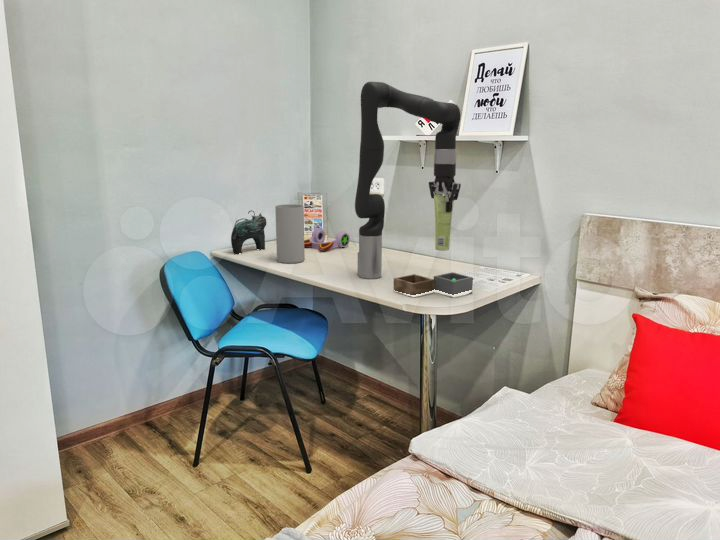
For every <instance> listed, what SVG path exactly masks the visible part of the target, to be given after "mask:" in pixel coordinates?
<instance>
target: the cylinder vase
mask: <svg viewBox="0 0 720 540" xmlns="http://www.w3.org/2000/svg"><path fill="white" fill-rule="evenodd" d="M304 210H305V209H304V205H303V204H290V203H289V204H278V205H275V234H276V235H275V238H276V243H275V244H276V260H277V262H279V263H281V264H289V263H290V264H298V263H303V262H304V261H305V257H306V256H305V247H304V240H305V220H304V219H305V214H304V213H305V211H304Z"/></svg>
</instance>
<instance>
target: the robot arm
mask: <svg viewBox="0 0 720 540" xmlns="http://www.w3.org/2000/svg"><path fill="white" fill-rule="evenodd" d="M381 108H392V109H394V108H395V109H399V110H400V111H401V110H402V111H403V112H405V113H407V114H409V115H411V116H415V117H419V118H421V119H426V120H428V121H430V122H432V123H435V124H438V125H439V124H440V125H441V128H440V131H438V132H436V134H435V141H434V155H433V157H434V158H433V176H434V177H435V178H434V181H429V182H428V187H429V193H430V198H431V199H433V200H434V195H440V196H446V201H447V202H446V212H447V213H449V212H451V211H452V202H453V201H454V202H455V201H457V200H458V199H459V193H460V190H461V183H457V182H456V181H455V176H456V174H457V173H456V170H457V169H456V168H457V151H456V146H457V145H456V144H457V142H456V141H457V135H458V131H459V126H460V124H461V123H460V122H461V114H462V113H461V109H460V107H459V106H458V105H457V104H456V103H453V102H444V101H436V100H434V99H433V98H430V97H427V96H423V95H419V94H414V93H409V92H405V91H404V90H403V91H402V90H400V89H398V88H396V87H394V86H392V85H390V84H387V83H386V82H381V81H367V82H365V83H364V85H363V86H362V88H361V91H360V118H361V119H360V120H361V121H360V122H361V123H360V124H361V125H360V145H359V168H358V177H357V186H356V194H355V198H354V199H355V200H354V211H355V215H356V216H357V218H359V219H368V221H366V223H364V224H363V225H361V226H360V227H359V230H358V252H357V276H358V277H359V278H362V279H368V280H369V279H371V280H373V279H379V277H380V278H381V277H382V265H383V264H382V261H383V260H382V259H383V254H382V253H383V230H384V227H385V212H386V206H385V199H384V198H383V196H382V194H378V193H373V194H371V193H370V192H371V187H372V183H373V181H374V180H375V177H376V175H377V174H378V173H379V171H380V169H381V167H382V165H383V162H384V156H385V155H384V154H385V153H384V152H385V143H384V138H383V135H382V132H381V130H380V127H379V121H378V113H379V112H378V110H379V109H381ZM454 195H455V196H454ZM449 196H450V198H449ZM452 212H453V211H452Z"/></svg>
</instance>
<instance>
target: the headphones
mask: <svg viewBox="0 0 720 540" xmlns="http://www.w3.org/2000/svg"><path fill="white" fill-rule="evenodd" d="M325 239H326V232H325V230H324V229H323V228H320V227H317V228H315V229H314V230H313V231H312V233H311V237H309V238H307V239H304V248H307V247H308V248H311V249H315V250H321V251H326V250H331V249H334V248H339V249H343V248H342V247H345V248H347V247H348V246H349V244H350V240H351V239H350V235H349V233H347V232H346V231H339V232H338V233H337V234H336V237H335V239H334V240H331V241H326V242H324V241H325Z"/></svg>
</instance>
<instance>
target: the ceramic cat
mask: <svg viewBox="0 0 720 540" xmlns="http://www.w3.org/2000/svg"><path fill="white" fill-rule="evenodd" d="M251 212H253V213H254V214H253V215H251V217H252V218H251V219H247V218H244V219H243V218H240V219H237V220H236V221H235V223H234V227H233V229H232V232H231V235H230V242H231V246H232V253H235V254H234V255H236V254H237V255H240V254H239V253H241V254H243V251H242V250H243V249H242V248H243V244H244V243H245V242H246V241H247V240H250V239H252V241H254V244H255V247H256V250H257V249H260V250H259V251H262V250H261V249H263V250H265V249H266V236H265V235H266V234H265V228H266V227H267V226H266V225H267V219H266V217H265V216H263V215H262V212H261V213H259V214H258V215H256V214H255V211H254V210H249V211H248V212H247V214H248V215H249V214H250V213H251Z"/></svg>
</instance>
